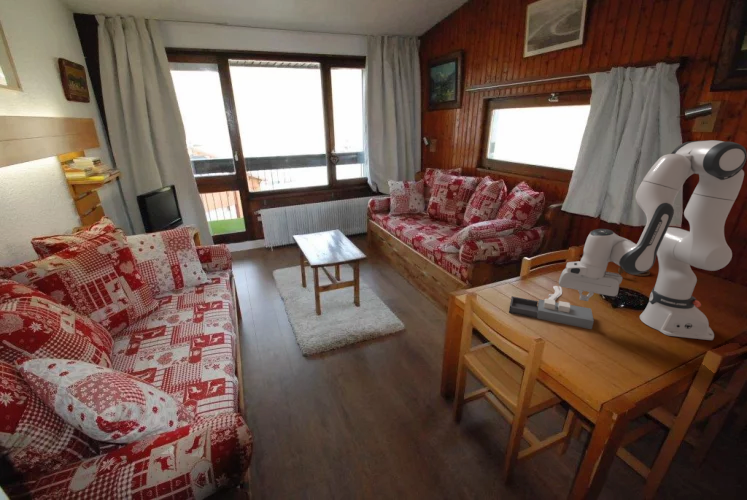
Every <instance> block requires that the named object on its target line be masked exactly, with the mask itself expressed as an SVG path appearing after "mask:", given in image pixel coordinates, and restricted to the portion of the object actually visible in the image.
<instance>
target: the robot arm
mask: <svg viewBox="0 0 747 500" xmlns="http://www.w3.org/2000/svg"><path fill="white" fill-rule="evenodd" d="M673 149H674V150H673V151H672V152H670V153H668V154H664V155H662V156H660V157H659V158H658V160H656V161H655V162H654V164H653V165H651V168H650V169H649V170H648V171H647V173H646V174H645V175H644V177H643V179H642V181H641V182H640V185H638V187H637V189H636V192H635V201H636V203H637V205H638V206H639V208H640V209H641V210H642V211H643V213H644V214H645V217H646V224H645V226H644V228H643V231H642V233H641V235H640V237H639V240H638V241H637V243H635V242H633V241H632V240H630V239H628V238H625V237H623V236H619V235H618V234H616V233H615V232H614V231H613V230H611V229H607V228H597V229H593V230H591V231H590V232H589V234H588V236H587V237H586V240H585V243H584V245H583V253H582V257H581V258H580V261H579V260H578V261H577V260H576V261H568V262H566V265H565V268H564V269H563V270H561V271H562V272H561V274H560V275H559V279H558V286H560V287H561V288H566V289H571V290H576V291H578V294H579V300H580V301H585V302H589V299H590V298H591V297H592V296H594V294H598V295H603V296H609V297H616V296H618V293H619V290H620V284H622V281H623V276H622V274H621V275H619V272H611V271H607V268H608V265H609V263H610V262H611V263H614V264H615V265H617V266H618V267H621V268H622V269H624V270H625V271H626V272H625V271H624V272H625V273H627V274H629V275H632V274H645V273H647V272H646V271H648V270H649V271H650V270H651V269H652V268H653V266H654V265H655V262H656V258H657V261H658V274H657V277H656V282H655V285H654V286H653V287H652V290H651V292H650V294H649V297H648V298H649V299H648V303H647V305H646V307H645V309H644V310H643V311H642V313H641V314H640V315H639V319H640V320H641V322H642V323H644V324H645V325H647V326H648V327H650V328H652V329H654V330H656V331H658V332H660V333H662V334H664V335H665V336H668V337H677V338H678V337H679V338H687V339H696V340H697V339H698V340H704V341H705V340H706V341H713V340H714V338H715V333H714V331H713V330H712V328H711V327H710V326H709V325H710V323H709V319H708V318H707V316H706V315H705V313H704V312H702V311H701V310H700V309H699V308H700V307H702V303H701V302H700V301H699V300H697V298H696V297H695V296H693V292H694V290H695V286H696V284H697V283H698V282H697V281H698V279H697V276H696V274H695V273H694V271H693V270H692V268H691V266H692V267H694V268H697V269H700V270H701V269H702V270H705V271H709V272H710V271H711V272H712V271H713V272H714V271H718V270H719V271H720V269H723V268H725V267H726V266H727V265H728V264H729V263H730V262H731V261H732V257H733V252H732V249H731V248H730V246H729V245H728V243H727V241H726V237H725V224H726V220H727V218H728V215H729V214H730V212H731V209H732V207H733V205H734V203H735V201H736V199H737V198H738V196H739V193H740V190H741V188H742V185H743V181H744V176H745V171H744V170H743V167H744V166H745V164H746V161H747V149H746V148H745V146H744V145H742V144H740V143H737V142H733V141H722V140H715V139H714V140H713V139H712V140H709V139H708V140H690V141H686V142H684V143H682V144H679V145H678V146H676V147H675V148H673ZM695 174H696V175H698V177H699V179H698V183H697V185H696V187H695V188H694V190H693V192H692V194H691V196H690V198H689V200H688V202H687V204H686V207H685V209H684V212H683V215H684V219H686V220H687V221H688V224H689V230H687V229H683V228H679V227H671V226H670V224H671V222H672V220H673V218H674V217H673V216H674V213H675V209H674V204H675V200H676V198H677V196H678V194H679V192H680V191H681V189H682V187H683V185H684V184H685V182H686V180H687V179H688V178H689V177H690V176H692V175H695ZM583 292H588V294H586V295H585V294H583Z"/></svg>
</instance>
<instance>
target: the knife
mask: <svg viewBox="0 0 747 500" xmlns="http://www.w3.org/2000/svg"><path fill="white" fill-rule="evenodd" d="M552 287H553V290H554V293H552V294H551V293H549V294H548V298H547V299H551V300H555V301H556V300H557V299H558V298H559V297H560V296H562V294H563V287H561V286H560V285H553V286H552Z"/></svg>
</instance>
